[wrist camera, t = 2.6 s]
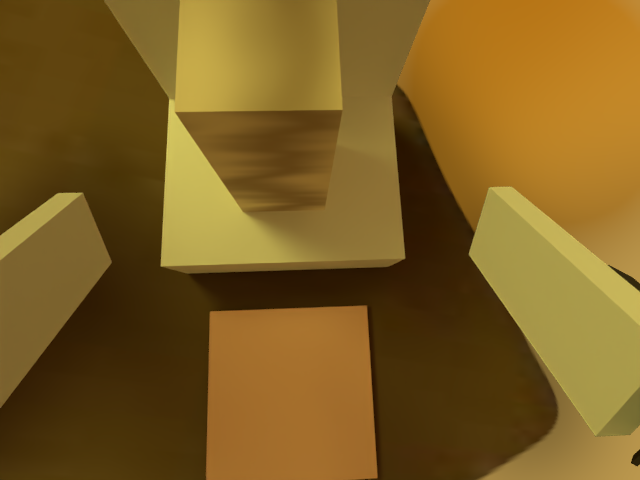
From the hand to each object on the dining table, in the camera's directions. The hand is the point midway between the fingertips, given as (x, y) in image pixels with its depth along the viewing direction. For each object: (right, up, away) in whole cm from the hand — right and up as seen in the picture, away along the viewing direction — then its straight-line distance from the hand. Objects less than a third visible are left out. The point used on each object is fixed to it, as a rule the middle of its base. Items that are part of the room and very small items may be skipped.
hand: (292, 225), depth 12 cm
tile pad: (-1, -12, +14) cm, 18 cm away
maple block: (-2, +4, +12) cm, 13 cm away
